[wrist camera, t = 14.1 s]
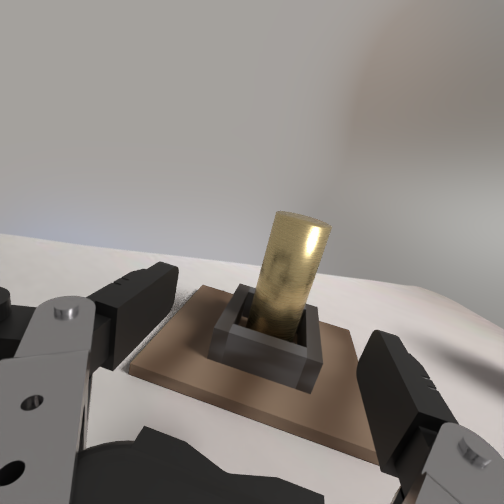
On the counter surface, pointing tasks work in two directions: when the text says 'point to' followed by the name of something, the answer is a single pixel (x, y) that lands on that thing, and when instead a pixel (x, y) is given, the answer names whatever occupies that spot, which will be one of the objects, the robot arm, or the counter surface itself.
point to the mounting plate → (262, 370)
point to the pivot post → (287, 274)
